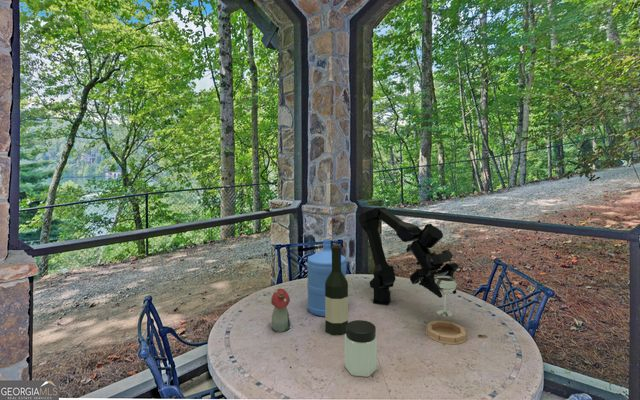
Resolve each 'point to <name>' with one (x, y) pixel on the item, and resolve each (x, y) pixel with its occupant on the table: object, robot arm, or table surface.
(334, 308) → the wine bottle
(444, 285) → the wineglass
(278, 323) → the decorative ornament
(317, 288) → the water jug
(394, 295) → the table surface
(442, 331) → the coaster
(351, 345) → the jar
